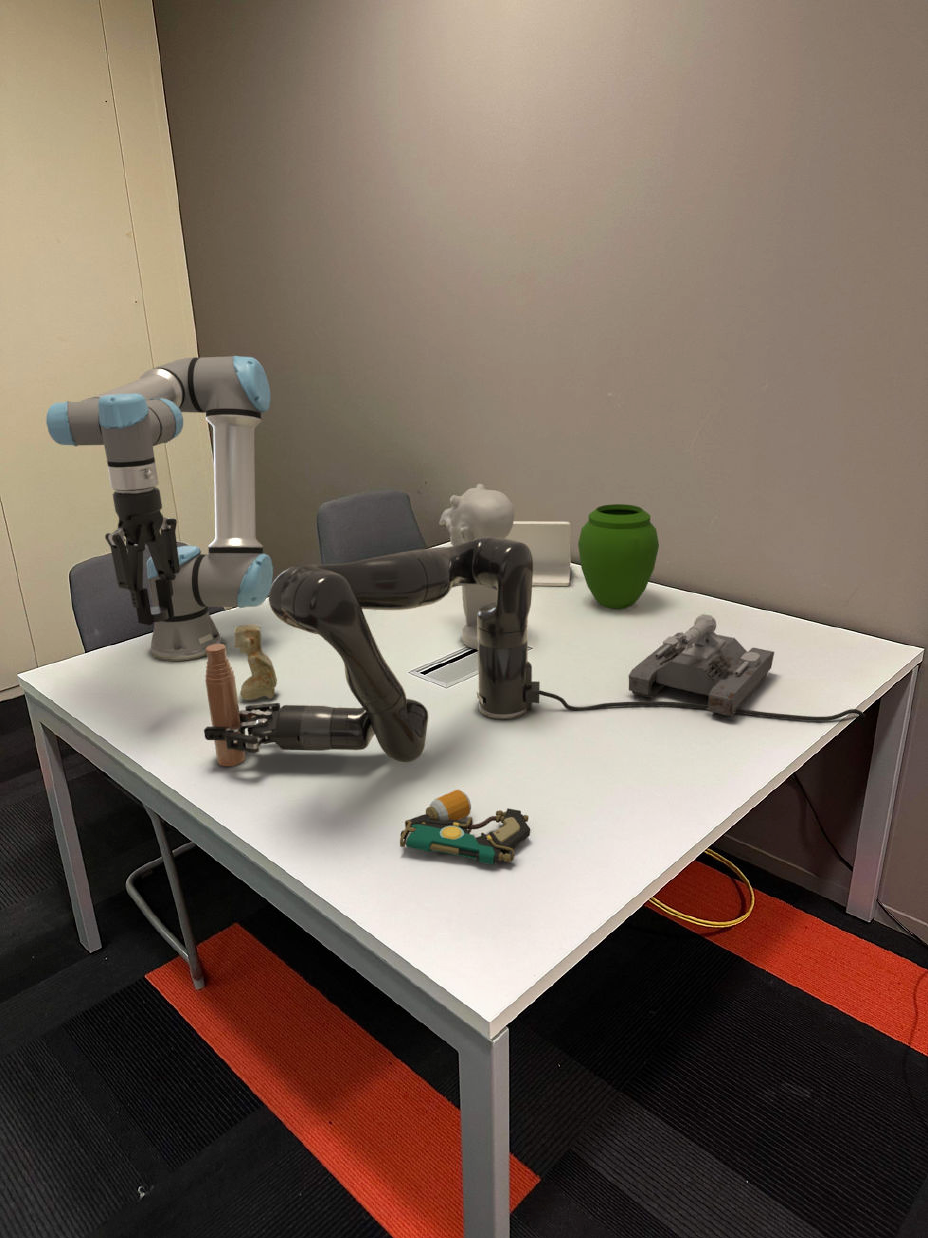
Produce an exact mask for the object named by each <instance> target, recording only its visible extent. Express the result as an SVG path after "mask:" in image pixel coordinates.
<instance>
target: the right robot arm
mask: <svg viewBox="0 0 928 1238" xmlns="http://www.w3.org/2000/svg"><path fill="white" fill-rule="evenodd" d="M532 578H533V559H532V554H531V551H530V549H529V548H528V546H527V545H526V544H524V543H521V542H518V541H513V540H508V539H503V538H498V537H481V538H477V539H474V540H471V541H468V542H465V543H462V544H459V545H455V546H453V545H450V546H442V547H441V546H439V547H429V548H420V549H413V550H406V551H400V552H395V553H390V554H385V555H381V556H374V557H368V558H365V559H361V560H356V561H351V562H345V563H344V562H343V563H328V564H327V563H325V564H297V565H293V566H290V567H289V568H286V569H285V570H284V571H282V572H281V573H280V574H279V575H278V576H277V577H275V579H274V581H272V584H271V588H270V591H269V594H268V604H269V606H270V609H271V611H272V613H273V614H274V615H275V616H276V618H278V619H279V620H280V621H281V622H283V623H285V624H286V625H287V626H290V627H292V628H295V629H297V630H301V631H304V632H307V633H310V634H312V635H318V636H319V637H321V638H322V639H323V640H325V641H326V642H327V643H328V645H330V646H331V647H332V648H333V649H334V650H335V651H336V652H337V654H338V655H339V657H340V658H341V660H342V662H343V665H344V673H345V674H344V675H345V676H344V677H345V680H346V683H347V686H348V688H349V689H350V691H351V693H352V695H353V696H354V697H355V699H356V700H357V702H358V703H359V704H360V706H361V707H335V706H328V705H327V706H326V705H307V704H306V705H302V704H301V705H299V704H285V705H284V704H283V705H282V706H281V703H279V702H273V703H272V702H271V703H261V704H251V705H246V706H245V707H244V708H245V709H241V710H240V709H239V713H240V720H241V724H240V725H239V726H234V727H228V728H227V727H212V726H206V727H205V728H204V729H203V734H204V739H205V740H207V741H214V740H224V741H226V744H227V745H226V746H227V748H228V749H233V750H239V751H244V752H245V753H250V754H257V753H259V752H260V748H259V747H260V746H261V745H266V744H271V743H272V744H273V743H275V744H276V745H277V746H278V748H279V749H280V750H283V751H310V752H311V751H316V752H318V751H319V752H320V751H331V750H333V751H334V750H335V751H337V750H338V751H340V750H341V751H344V750H345V751H362V750H364V749H367V747H369V745H370V743H371V741H372V740H373V738H374V736H375V738H376V740H377V743H378V745H379V746H380V748H381V750H382V751H383V752H384V753H385V755H387V757H389V758H391V759H392V760H393V761H396V762H399V763H410V762H414V761H416V760H417V759H418V758H420V757H421V756H422V754H423V752H424V749H425V746H426V740H427V732H428V726H429V725H428V724H429V711H428V709H427V707H426V706H425V705H424V704H423V703H421V702H420V701H417V700H415V699H411V698H407V694H406V691H405V689H404V687H403V686H402V684H401V682H400V681H399V679H398V677H397V676H396V675H395V673H394V672H393V670H392V669H391V668H390V666H389V664H388V663H387V661H386V660H385V658H384V656H383V654H382V652H381V650H380V648H379V646H378V644H377V642H376V639H375V637H374V635H373V633H372V630H371V628H370V626H369V622H368V621H367V619H366V615H365V614H364V611H363V610H370V611H371V610H373V611H406V610H413V609H418V608H421V607H426V606H431V605H433V604H436V603H439V602H440V601H442V599H444V598H445V597H446V596H447V595H448V594H449V593H450V591H451V590H452V588H456V587H462V586H463V585H478V586H483V587H487V588H491V589H495V590H498V593H497V602H494V603H490V604H487V605H485V606H483V607H481V608H480V609H479V611H478V613H477V633H478V649H477V666H478V671H477V672H478V691H476V698H477V699H478V711H479V713H481V714H482V715H483V716H484V717H486V718H491V719H494V720H495V719H496V720H511V719H516V718H520V717H523V715H525V714H527V713H528V712H532V711H533V704H540V696H543V697H548V698H551V699H553V700H556V701H558V702H560V703H561V704H562V705H563V707H564V708H565V709H566V710H569V711H574V712H582V711H583V712H584V711H591V710H592V711H593V710H597V709H603V708H611V707H612V708H613V707H632V706H664V707H666V706H668V707H669V706H670V707H681V708H683V707H684V708H694V709H704V710H708V704H703V703H702V704H701V703H691V702H679V701H677V702H676V701H659V700H657V701H656V700H653V701H652V700H640V701H639V700H638V701H637V700H636V701H635V700H634V701H619V702H618V701H617V702H606V703H605V702H603V703H598V704H594V705H589V706H574V705H570V704H569V703H567V701H566V700H565V699H564V698H563V697H561V696H560V695H557V694H554V693H551V692H548V691H544V690H540V689H541V688H540V687H541V685H540V684H541V683H540V681H534V680H533V666H532V663H530V662H529V661H528V659H529V657H528V656H529V654H528V653H529V651H528V649H529V647H528V644H529V643H528V640H529V639H528V623H529V622H528V621H529V620H528V619H529V614H530V610H531V607H532V593H533V585H532ZM735 713H736V714H743V715H751V716H758V717H759V716H760V717H767V718H777V719H787V720H795V721H796V720H797V721H798V720H799V721H810V722H811V721H812V722H814V721H815V722H826V721H827V722H828V721H834V720H837V719H841V718H843V717H845V716H847V715H850V714H856V715H858V716H860V717H862V718H865V717H866V714H865V713H864V712H862V711H861V710H859V709H855V708H850V709H847V710H844V711H842V712H839V713H837V714H834V715H828V716H809V715H796V714H786V713H785V714H784V713H775V712H766V711H759V710H751V709H742V708H738V709H736V712H735ZM735 713H734V714H735ZM246 730H247V734H246ZM233 732H240V733H241V734H237V733H233ZM236 743H237V744H236Z"/></svg>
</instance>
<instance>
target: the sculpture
mask: <svg viewBox="0 0 928 1238" xmlns="http://www.w3.org/2000/svg"><path fill="white" fill-rule="evenodd" d="M233 631H234V634H233V635H234V645H233V646H234V647H235V648H236V649H238V650H239V653H240V654H246V660H247V663H248V666H249V669H250V673H251V676H249V677H248V678H247V679H246V680H244V682H243V683H242V685H241V688H240V692H239V695H240V697H241V698H242V699H243V700H245V701H255V700H258V699H260V698H262V697H267V699H272V698H273V697H274V696H275V691H276V690H275V689H276V687H277V685H278V678H277V675H276V671H275V668H274V665H273V661H272V660H271V659H270V657H269V656H268V655H267V654H266V653H264V652H263V649H262V633H261V626H260V625H258V624H244V625H238V626H236V627H235V628H234V630H233Z"/></svg>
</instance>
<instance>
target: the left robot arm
mask: <svg viewBox="0 0 928 1238" xmlns="http://www.w3.org/2000/svg"><path fill="white" fill-rule="evenodd" d="M271 400H272V399H271V390H270V384H269V380H268V377H267V373H266V372H265V369H264V367H263V365H262V364H261V363H260V362H259V360H257V359H256V358H255V357H252V356H239V355H231V356H208V357H207V356H206V357H203V356H202V357H195V356H194V357H193V356H192V357H186V358H185V357H184V358H181V359H180V358H179V359H177V360H174V361H170V362H167V363H164V364H162V365H159V366H156V367H153V368H151V369H148V370H146V371H145V372H144V373H143V374H142V375H140V377H139V379H136V380H134V381H131V382H128V383H126V384H123V385H120V386H118V387H115V388H113V389H110V390H108V391H105V392H103V393H100V394H97V395H94V396H92V397H88V398H85V399H82V400H79V401H68V400H66V401H64V402H62V401H61V402H55V403H53V404H51V405H50V407H49V408H48V409H47V412H46V417H45V418H46V419H45V421H46V426H47V432H48V434H49V436H50V438H51V439H52V440H53V441H54V442H55V443H56V444H58V445H61V446H72V447H73V446H74V447H79V446H104V451H105V456H106V463H107V464H106V465H107V471H108V477H109V484H110V488H111V489H112V490H114V492H113V493H112V499H113V506H114V511H115V514H116V515H117V516H118V517H117V518H118V523H117V529H115V530H114V531H113V532H112V533H110V532H107V533H106V534H105V540H106V542H107V544H108V546H109V547H110V552H111V555H112V556H111V557H112V561H113V566H114V571H115V576H116V581H117V585H118V588H119V589H124V590H129V593H130V598H131V603H132V604H131V605H132V606H133V608H135V609H136V615H137V620H138V624H142V625H145V626H152V625H153V623H154V626H153V631H152V636H151V642H150V650H151V654H152V656H153V657H154V658H156V659H158V660H162V661H169V662H181V661H190V660H195V659H200V658H203V657H207V654H206V648H207V647H208V646H210V645H213V644H222V638H221V637H222V636H221V634H220V632H219V630H218V628H217V626H216V624H215V622H214V621H213V619H212V616H211V615H210V612H209V608H239V609H243V608H256V607H259V606H261V605H263V604H264V602H266V600H267V598H268V597H269V591H270V588H271V586H272V584H273V575H274V566H273V560H272V558H271V557H270V555H268V554H267V553H264V545H262V543H260V542H259V541H258V539H257V538H256V537H257V536H256V535H257V533H256V531H257V528H256V523H257V522H256V467H255V466H256V465H255V463H256V462H255V461H256V459H255V458H256V457H255V455H256V454H255V429H256V428H257V427H258V425H259V424H261V422H262V414H263V413H266V412H268V411H269V410H270V407H271V406H270V404H271ZM183 413H200V414H201V413H202V414H204V413H205V420H206V421H207V422H208V423H209V424H210V425H211V427H212V428H213V477H214V478H213V479H214V528H215V533H214V534H215V537H214V539H213V541H212V542H211V543H210V544H208V553H207V554H206V553H205V554H202V551H201V549H200V547H199V546H198V545H181V546H178V543H177V535H176V532H177V524H178V521H177V519H176V518H172V517H164V515H163V514H162V512H161V510H162V508H163V504H162V503H163V502H162V498H161V490H160V489H159V488H158V487H157V486H158V485H159V477H158V472H157V465H156V459H155V452H154V447H155V446H158V445H161V444H167V443H168V442H171V441H172V440H174V439H175V438H177V437H178V436H179V435H180V434H181V432H182V431H183V427H184V416H183ZM146 546H147V549H148V552H149V554H150V556H149V558H148V559H147V561H146V574H147V575H146V576H147V578H146V579H147V581H148V586H149V591H150V598H151V603H152V607H166V608H168V614H169V618H168V619H166V620H164V621H160V622H153V621H152V615H151V609H150V608H151V604H150V599H149V591H148V588H146V587H144V552H145V550H146Z"/></svg>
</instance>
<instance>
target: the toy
mask: <svg viewBox="0 0 928 1238" xmlns="http://www.w3.org/2000/svg"><path fill="white" fill-rule="evenodd" d="M716 629H717V620H716V619H715V617H713V615H711V614H710V615H709V614H704V613H702V614H701V615H699V616H698V617H696V618H695V620H694V624H693V626H691V627H690V628H689V629H688V630H687V631H685V632H683V631H681V632H677V633H675V634H674V635H673V636H667V638H665V639H664V640H663V641H662V645H660V646H659V647H658V648H657V649H655V650H654V651H653V652H652V653H650V654H649V655H648V656H647V657H645V658H644V659H643V660H641V662H639V663H638V664H637V665H635V667H634V668H632V669H631V671H630V672H629V674H628V691H630V692H631V693H632V694H634V695H637V696H642V697H645V698H649V699H652V698H653V697H654V696H655V695H657V693H658V692H660V691H661V690H662V689H663V688H665V686H666V687H669V688H673V689H678V690H682V691H686V692H691V693H694V694H699V695H704V696H708V703H707V705H708V709H707V711H710V712H711V713H714V714H720V715H723V716H727V717H733V715H734V714H735V712H736V709H740V707H742V705H743V704H744V703H745V702H746V700H748V698H749V697H750V696H751V695H752V694H753V693H754V691H755V690H756V689H758V687H759V686H760V685H761V684H762V683H763V681H764V680H765V679H766V678H767V677H768V674H769V672H770V670H771V669H772V666H773V660H774V656H775V651H774V650H768V649H763V648H758V647H751V648H750V649H749V650H748V651H747V650H746V648H745V647H743V645H742V644H741V643H740V642H739V641H738V640H737V639H736V638H735V637H732V636H726V635H722V634H717V633H716V632H715V631H716Z"/></svg>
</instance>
